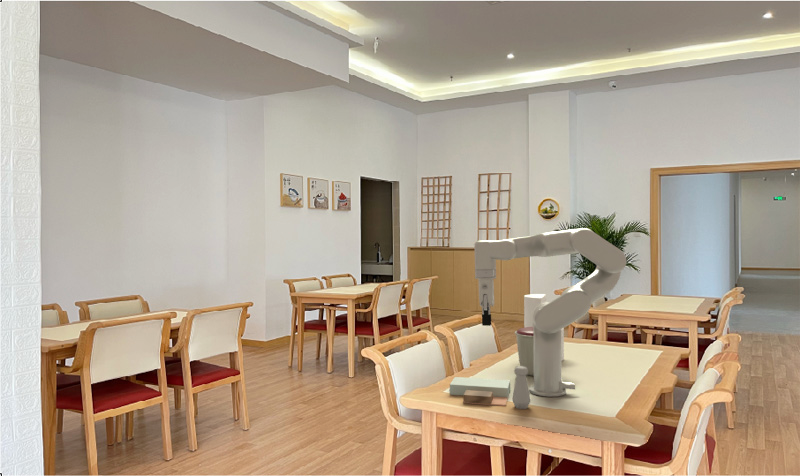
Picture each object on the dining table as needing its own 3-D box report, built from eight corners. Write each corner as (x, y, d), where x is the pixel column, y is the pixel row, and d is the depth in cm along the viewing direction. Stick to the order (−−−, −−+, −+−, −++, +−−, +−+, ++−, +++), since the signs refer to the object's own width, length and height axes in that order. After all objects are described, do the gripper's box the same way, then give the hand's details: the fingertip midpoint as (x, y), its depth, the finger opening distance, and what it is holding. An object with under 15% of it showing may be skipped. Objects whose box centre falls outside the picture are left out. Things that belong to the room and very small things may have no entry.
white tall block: (521, 360, 252) (521, 297, 252) (527, 353, 268) (527, 293, 268) (562, 363, 246) (561, 298, 246) (565, 355, 262) (565, 294, 262)
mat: (507, 398, 194) (507, 397, 194) (505, 406, 186) (505, 404, 186) (466, 395, 198) (466, 394, 198) (462, 403, 189) (462, 401, 189)
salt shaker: (533, 409, 182) (533, 368, 182) (517, 410, 181) (517, 369, 181) (524, 403, 188) (524, 364, 188) (509, 405, 186) (508, 365, 186)
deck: (510, 389, 205) (510, 380, 205) (507, 398, 194) (507, 388, 194) (454, 386, 210) (454, 376, 210) (449, 394, 200) (449, 384, 200)
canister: (522, 366, 241) (522, 316, 241) (566, 371, 232) (565, 319, 232) (508, 375, 226) (508, 322, 225) (554, 381, 216) (554, 326, 216)
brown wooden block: (490, 396, 187) (490, 404, 187) (492, 391, 192) (492, 398, 192) (463, 394, 189) (463, 402, 189) (466, 390, 195) (466, 397, 195)
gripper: (495, 275, 198) (496, 328, 198) (497, 273, 212) (498, 322, 213) (473, 276, 199) (474, 328, 199) (476, 273, 214) (477, 322, 214)
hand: (486, 325), depth 206 cm, fingers closed
